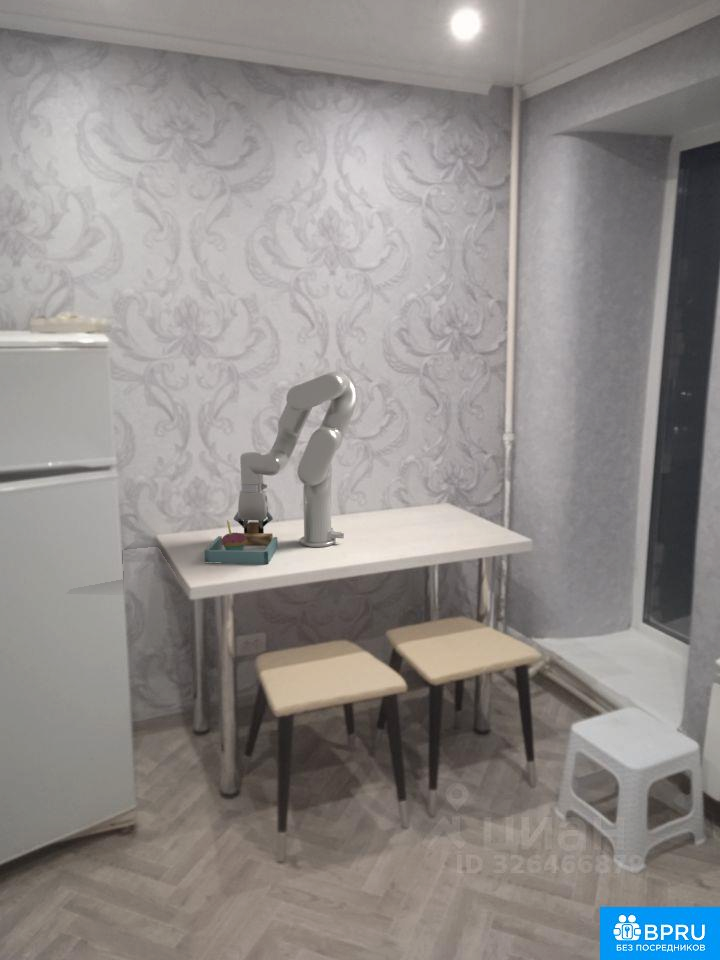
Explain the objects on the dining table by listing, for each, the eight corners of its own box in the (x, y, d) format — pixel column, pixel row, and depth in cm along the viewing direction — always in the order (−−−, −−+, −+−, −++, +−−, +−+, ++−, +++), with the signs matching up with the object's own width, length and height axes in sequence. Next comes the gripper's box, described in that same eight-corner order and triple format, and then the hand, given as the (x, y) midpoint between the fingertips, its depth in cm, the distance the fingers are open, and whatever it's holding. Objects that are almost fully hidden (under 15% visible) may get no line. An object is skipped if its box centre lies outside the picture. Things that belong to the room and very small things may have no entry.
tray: (277, 548, 248) (277, 537, 247) (267, 564, 231) (267, 552, 230) (218, 547, 249) (218, 536, 249) (204, 563, 233) (204, 551, 232)
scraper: (274, 538, 260) (274, 522, 259) (270, 544, 252) (270, 528, 251) (235, 538, 261) (235, 521, 259) (230, 544, 253) (230, 527, 252)
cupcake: (226, 559, 237) (224, 523, 234) (218, 552, 244) (216, 517, 242) (251, 555, 241) (250, 520, 238) (242, 548, 248) (241, 514, 246)
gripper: (277, 485, 258) (279, 535, 261) (231, 485, 258) (233, 535, 262) (274, 490, 250) (275, 541, 254) (226, 489, 251) (228, 541, 255)
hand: (254, 537), depth 258 cm, fingers closed on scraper, 4 cm apart
